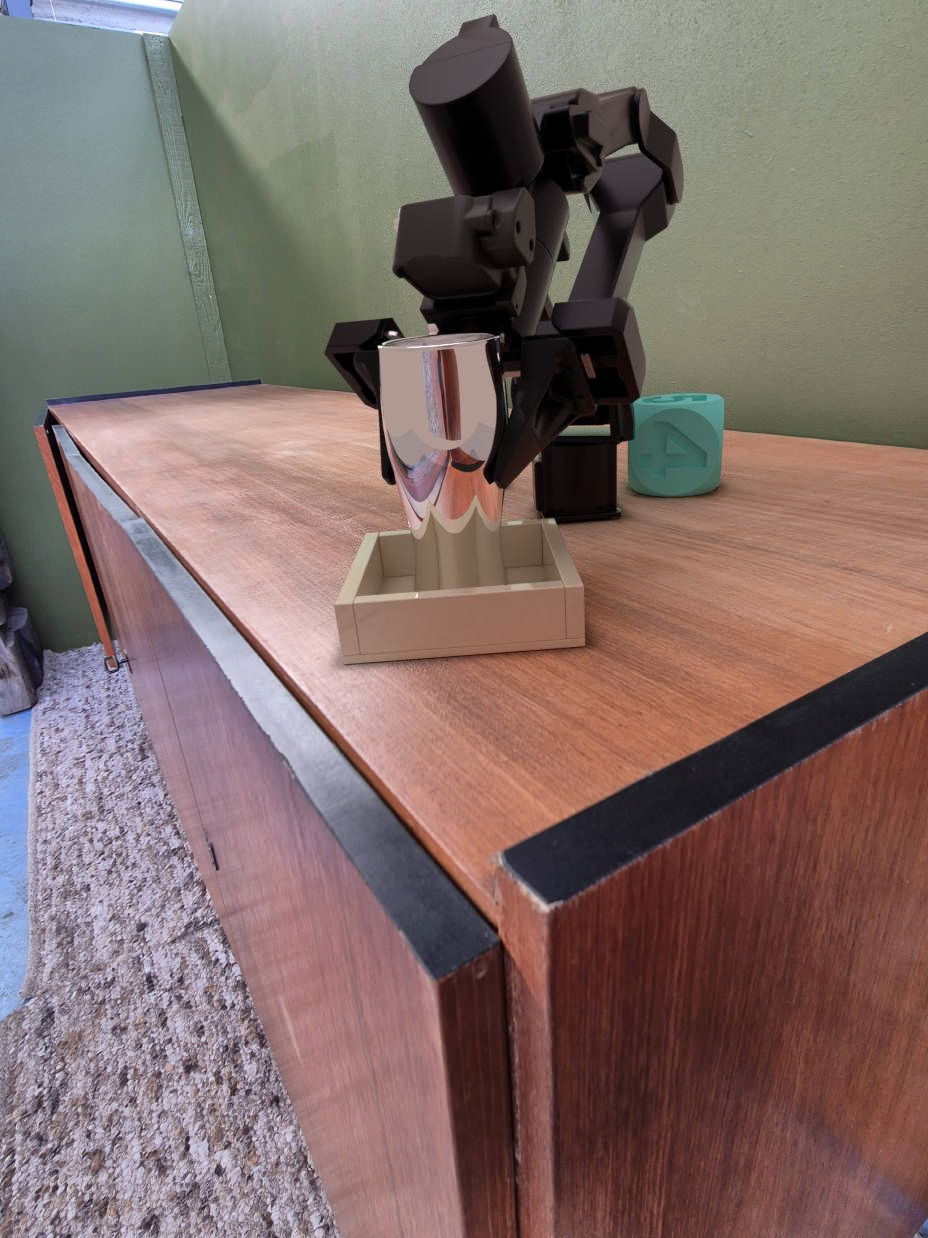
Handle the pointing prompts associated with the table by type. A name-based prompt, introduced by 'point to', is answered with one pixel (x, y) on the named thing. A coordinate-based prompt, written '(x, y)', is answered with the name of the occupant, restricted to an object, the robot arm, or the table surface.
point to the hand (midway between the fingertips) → (441, 483)
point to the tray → (461, 601)
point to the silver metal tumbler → (447, 452)
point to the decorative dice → (676, 444)
